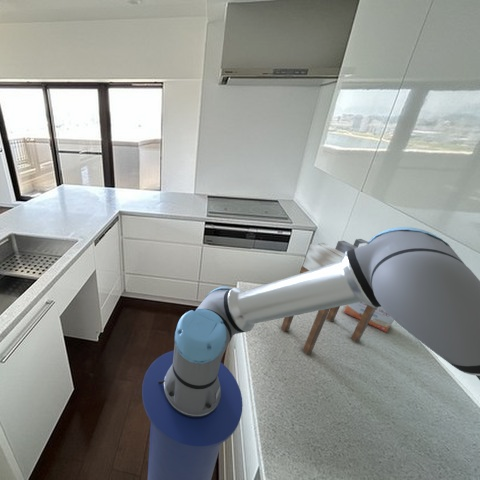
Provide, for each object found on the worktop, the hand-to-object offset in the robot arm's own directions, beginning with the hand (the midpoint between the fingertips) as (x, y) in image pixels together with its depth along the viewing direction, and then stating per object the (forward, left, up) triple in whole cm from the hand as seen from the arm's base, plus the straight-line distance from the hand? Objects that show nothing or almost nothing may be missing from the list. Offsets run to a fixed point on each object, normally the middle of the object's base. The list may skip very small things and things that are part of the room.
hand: (419, 274), depth 60 cm
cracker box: (+13, +31, -37) cm, 50 cm away
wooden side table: (-7, +16, -37) cm, 40 cm away
